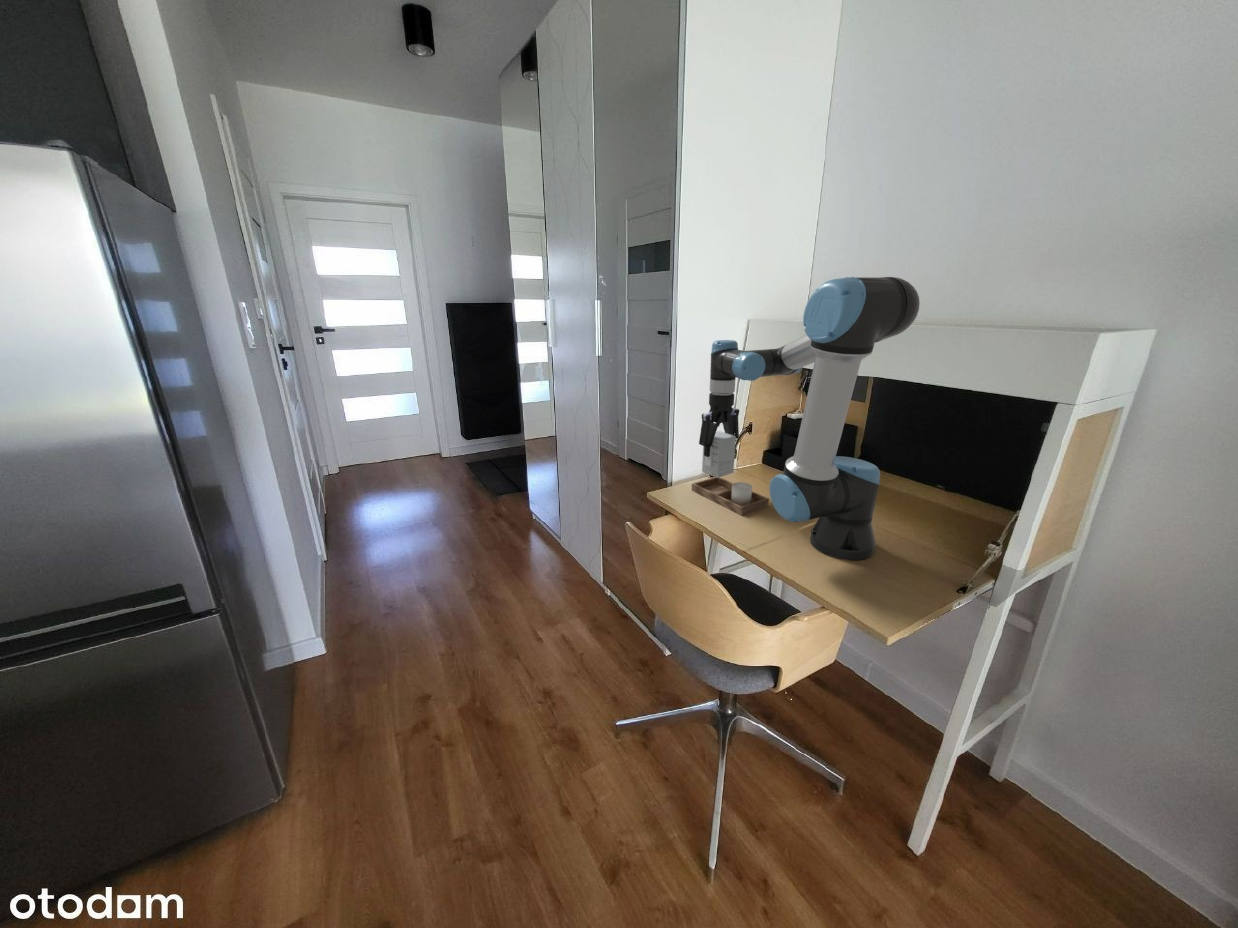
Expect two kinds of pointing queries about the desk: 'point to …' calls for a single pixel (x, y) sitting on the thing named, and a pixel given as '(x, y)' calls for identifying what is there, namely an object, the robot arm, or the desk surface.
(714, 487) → the tray
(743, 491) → the ceramic jar
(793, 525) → the desk surface
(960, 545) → the desk surface
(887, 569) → the desk surface
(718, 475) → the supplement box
